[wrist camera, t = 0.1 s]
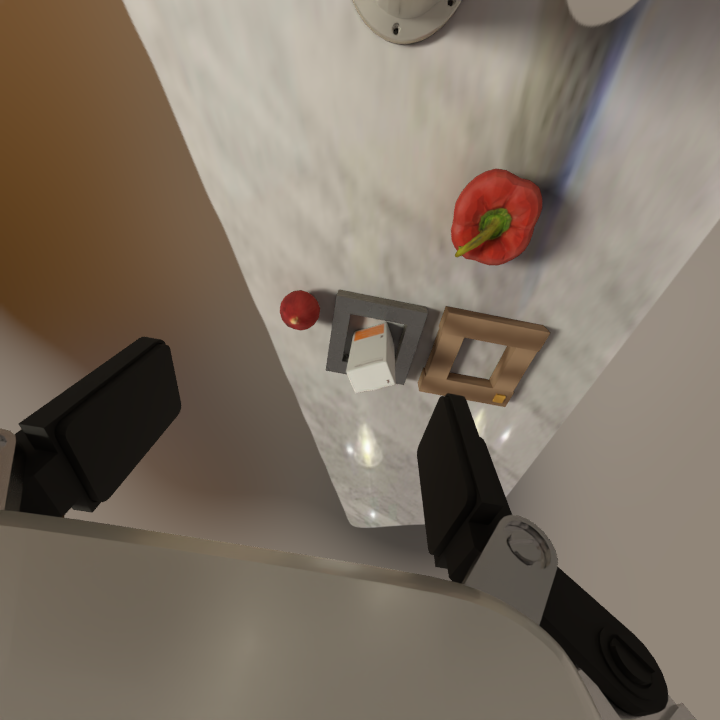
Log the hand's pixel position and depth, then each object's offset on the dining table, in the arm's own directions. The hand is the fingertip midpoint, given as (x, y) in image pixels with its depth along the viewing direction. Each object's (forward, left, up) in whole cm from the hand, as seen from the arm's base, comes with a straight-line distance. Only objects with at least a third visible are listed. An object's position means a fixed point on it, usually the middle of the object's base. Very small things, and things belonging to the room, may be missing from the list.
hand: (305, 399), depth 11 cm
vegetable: (-4, +15, -37) cm, 40 cm away
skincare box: (+17, +5, -37) cm, 41 cm away
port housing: (+17, +23, -37) cm, 47 cm away
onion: (+13, -7, -37) cm, 40 cm away
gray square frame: (+17, +5, -37) cm, 41 cm away
